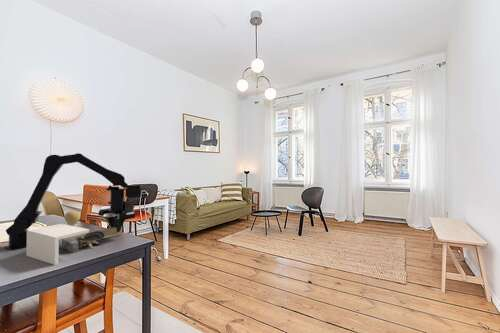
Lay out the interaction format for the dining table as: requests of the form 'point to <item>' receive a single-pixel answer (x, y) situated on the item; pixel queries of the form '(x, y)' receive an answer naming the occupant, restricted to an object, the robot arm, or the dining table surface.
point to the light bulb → (72, 218)
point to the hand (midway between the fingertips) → (116, 231)
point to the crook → (71, 242)
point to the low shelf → (49, 241)
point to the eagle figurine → (89, 239)
